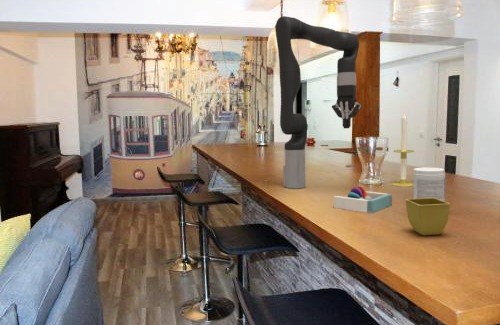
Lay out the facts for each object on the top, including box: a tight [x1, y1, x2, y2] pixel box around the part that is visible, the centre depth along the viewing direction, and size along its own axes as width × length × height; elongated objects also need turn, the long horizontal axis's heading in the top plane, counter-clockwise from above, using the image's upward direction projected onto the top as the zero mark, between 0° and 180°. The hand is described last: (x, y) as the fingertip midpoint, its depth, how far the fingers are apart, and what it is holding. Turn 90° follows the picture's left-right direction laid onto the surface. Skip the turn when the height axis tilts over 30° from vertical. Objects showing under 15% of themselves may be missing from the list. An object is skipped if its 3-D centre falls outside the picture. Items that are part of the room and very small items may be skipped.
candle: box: [391, 112, 415, 188], centre depth 191 cm, size 10×10×32 cm
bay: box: [333, 190, 393, 214], centre depth 153 cm, size 14×15×4 cm
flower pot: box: [405, 198, 451, 236], centre depth 119 cm, size 9×9×9 cm
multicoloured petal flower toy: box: [345, 186, 372, 200], centre depth 153 cm, size 8×10×7 cm
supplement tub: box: [412, 166, 446, 202], centre depth 139 cm, size 10×10×15 cm
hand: (346, 128), depth 173 cm, fingers closed
